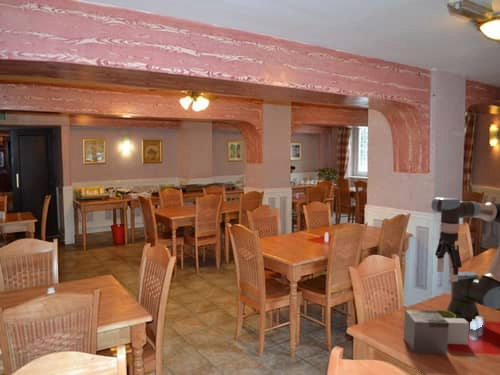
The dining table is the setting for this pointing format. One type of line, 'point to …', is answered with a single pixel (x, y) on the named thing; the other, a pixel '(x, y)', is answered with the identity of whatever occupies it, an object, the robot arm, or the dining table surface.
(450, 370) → the dining table surface
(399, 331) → the dining table surface
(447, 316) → the plant pot
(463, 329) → the upright grey box
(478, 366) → the dining table surface
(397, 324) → the dining table surface
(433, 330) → the box
